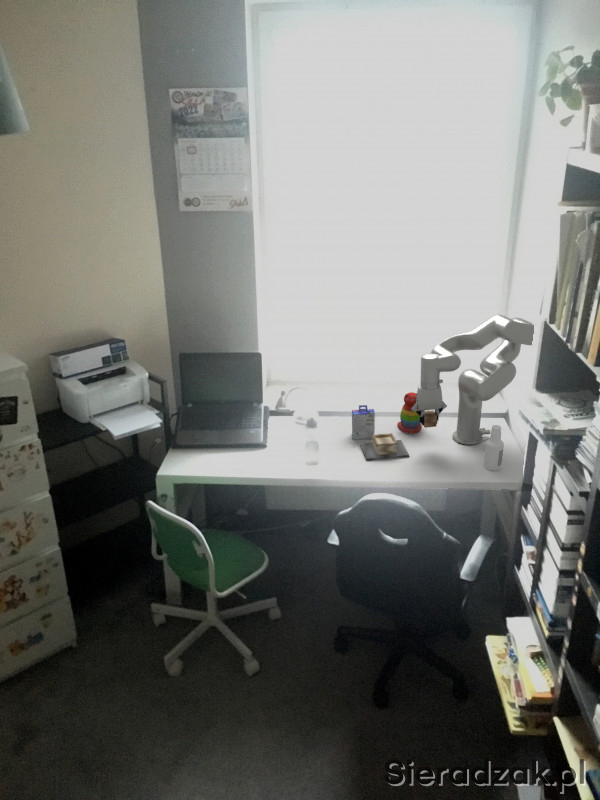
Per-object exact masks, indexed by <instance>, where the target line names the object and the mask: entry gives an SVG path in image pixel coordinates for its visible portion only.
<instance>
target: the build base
mask: <svg viewBox="0 0 600 800" xmlns="http://www.w3.org/2000/svg"><path fill="white" fill-rule="evenodd" d="M359 447H360V448H361V451H362V453H363V456H364V459H365V461H366V462H367V461H368V462H369V461H379V460H388V459H389V460H390V459H400V458H401V459H403V458H410V454H409V452H408V450H407V448H406V446H405V444H404V443H403V441H402V439H396V438H395V436H394V434H393V433H392V432H390V433H378V434H377V433H376V434H375V433H374V435H372V439H371V442H363V443H360V444H359Z"/></svg>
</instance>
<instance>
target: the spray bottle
mask: <svg viewBox="0 0 600 800" xmlns="http://www.w3.org/2000/svg"><path fill="white" fill-rule="evenodd" d="M504 445H505V443H504V441H503V440H502V427H501V426H500V425H497V424H493V425H492V426H491V430H490V437H489V438H488V439H487V440H486V441H485V449H484V457H483V467H484V469H487V470H488V471H492V472H493V471H496V470H497V471H499V470H501V469H502V466H503V465H502V463H503V455H504V447H505V446H504Z"/></svg>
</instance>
